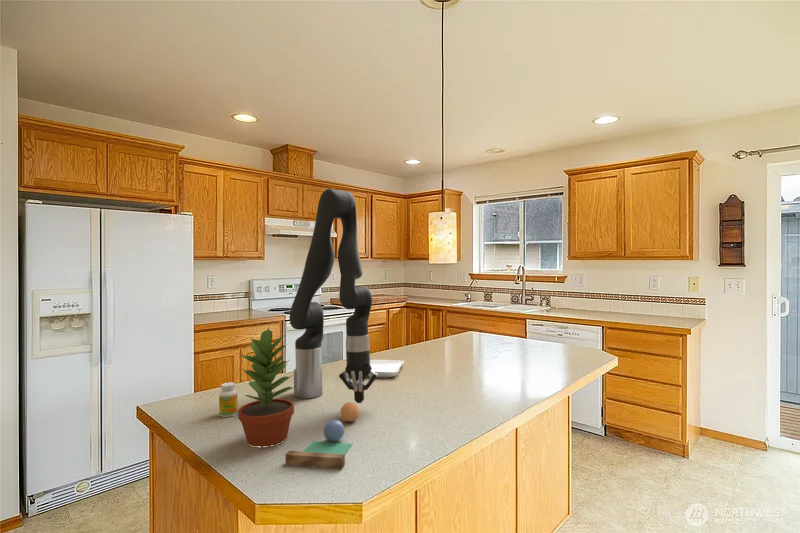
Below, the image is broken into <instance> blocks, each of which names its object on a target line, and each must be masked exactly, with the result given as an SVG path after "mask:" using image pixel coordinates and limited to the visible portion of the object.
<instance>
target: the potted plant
mask: <svg viewBox="0 0 800 533" xmlns="http://www.w3.org/2000/svg"><path fill="white" fill-rule="evenodd" d="M284 337H285V335H284V336H280V337H279V338H277V339H276V340H275V341H274V342H273V331H272V330H271V329H270V328H269V326H268V328H267V330H264V331H262V333H261V334H260V339H255V338H253V337H250V339H251V343H249V344H250V347H251V349H252V351H253V353H254V354H253V355H246V354H245V355H242V354H239V356H240V357H242V358H244V359H245V360H246V361H247V360H248V361H249V362H251V363H252V364H251V367H252V370H251V369H246V370H245V369H243V368H242V369H241V370H242V371H243V372H244V373H245V374H246V375H247V376H249V377H250V378H251V379H252V380H250V379H249V380H248V381H249V382H248V385H249V386H250V387H251V388H252V389H253V390H254V391H255V393H257V396H258V397H257V396H254V395H249V394H245V395H244V394H243V396H245V397H248V398H251V399H254V401H251V402H247V403H245V404H244V405H242V406H240V407H238V413H237V414H238V415H237V416H238V420H239V422H240V423H241V425H242V430H243V433H244V435H245V436H244V437H245V438H246V442H247V445H249V444H250V445H252V446H261V447H263V446H271V445H276V444H278V443H281V442H282V441H284V440H285V439H286V440H287V437H288V435H289V434H288V433H289V429H290V425H291V420H292V415H294V414H295V406H294V405H295V403H294V402H293V401H292V400H290V399H285V398H275V397H277V396H279V395H282V394H283V393H284V394H285V393H287V392H288V391H290V390H292V389H294V386H287V387H283V388H281V389H279V390H277V391H276V390H275V389H276V388H278V387H279V386H280V385H282V384H284V383H285V382H286V381H288V380H289V379H290V378H291V377H292V375H290V376H283V377H280V378H278V379H277V380H276V381H274V380H275V378H276V376H277V375H278V374H280V373H281V372H282V371H283V370H284V369H285V368H286V367H287V365H288V362H289V361H290V359H288V360H283V358H284V355H283V354H281V355H279V356H278V357H276V358H275V359H274V360H273V358H274V357H275V356H277V355H278V354H279V353H280V352H281V351H282V350H283V349H285V348H286V346H287V345H289V343H287V344H284V345H281V346H279V347H277V346H278V345H279V343H280V342H281V341H282V340H283V338H284ZM276 347H277V349H276ZM273 350H274V351H273ZM282 360H283V361H282ZM253 380H254V381H253ZM295 387H296V386H295ZM274 390H275V391H274ZM286 440H285V441H286ZM285 441H284V442H285ZM282 443H283V442H282ZM282 443H281V444H282ZM250 445H249V446H250ZM278 445H279V444H278ZM252 446H251V447H252ZM276 446H277V445H276Z"/></svg>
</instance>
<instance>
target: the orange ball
mask: <svg viewBox="0 0 800 533" xmlns="http://www.w3.org/2000/svg"><path fill="white" fill-rule="evenodd" d="M339 413H340V417H341V419H343V420H344V421H345V422H349V423H350V422H354V421H356V419H357V418H358V417H359V415H360V414H359V413H360V410H359V406H358V405H357V403H355V402H351V401H350V402H346V403H344V404H343V405H342V406H341V407H340V412H339Z"/></svg>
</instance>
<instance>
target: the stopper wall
mask: <svg viewBox="0 0 800 533" xmlns="http://www.w3.org/2000/svg"><path fill="white" fill-rule="evenodd" d="M345 456H346V455H344V454H330V453H315V452H303V451H297V450H288V451H287V452H286V453H285V458H284V460H285V465H286V464H289V465H288V466H294V465H299V466H298V467H307V466H315V467H314V468H320V467H325V468H324V469H333V468H339V469H338V470H343V469H344V467H345V466H344V465H346V462H345V460H346V459H345V458H346V457H345ZM342 468H343V469H342Z"/></svg>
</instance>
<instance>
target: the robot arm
mask: <svg viewBox="0 0 800 533" xmlns="http://www.w3.org/2000/svg"><path fill="white" fill-rule="evenodd" d="M319 197H320V198H319V200H318V205H317V211H316V216H315V222H314V228H313V232H312V238H311V242H310V246H309V249H308V253H307V256H306V260H305V263H304V266H303V267H304V268H303V271H302V276H301V278H300V283H299V285H298V288H297V291H296V294H295V297H294V299H293V302H292V304H291V308H290V310H289V311H290V312H289V324H290V326H291V327H292V328H293V329H294V330H305V331H304V333H303V334H302V335H301V336H300V337H298V338H296V340H295V342H294V344H295V345H294V346H295V348H294V349H295V350H294V351H295V368H294V369H293V387H294V388H293V396H294V397H296V398H300V399H315V398H318V397H320V396H322V395H323V362H322V361H323V358H322V356H323V355H322V351H323V350H322V342H323V339H324V324H325V323H324V321H325V320H324V319H325V318H324V311H323V307H322V305H321V304H320V303H319V302H316V301H312V300H313V298H314V296H315V295H316V293H317V292H318V291H319V290H320V289H321V287H322V286H323V285H324V284H325V283H326V281H327V280H328V278H329V277H330V275H331V274H332V271H333V267H334V263H335V258H336V253H335V252H336V251H335V248H334V243H333V241H332V235H331V234H332V233H331V232H332V228H333V224H334V220H335V219H340V222H341V226H342V235H341V239H340V242H339V246H338V249H337V261H338V268H339V272H340V283H339V284H340V285H339V296H338V297H339V302H340V303H341V305H342V307H343V308H344V309H346V310H354V313H353V314H352V315H349V316H348V317H347V318H346V321H345V331H346V332H345V333H346V334H345V335H346V336H345V338H346V339H345V355H346V357H345V358H346V361H345V362H346V365H345V368H344V371H342V372H341V373H340V374H339V375H338V377H339V378H340V380H341V381H342V382H343V383H344V385H345V386H346V388H347V389H348V390H351V391H353V392H354V394H353V395H354V396H353V397H354V398H353V399H354V402H356V403H355V404H362V403H363V402H364V400H365V391H367V390H368V389H369V388H370V387H371V385H372V384H373V383H374V382H375V380H376V379H377V378H378V377H377V376H378V373H375V372H373V371H372V368H371V366H370V360H371V354H370V352H371V351H370V347H371V345H370V339H369V338H370V337H369V318H370V314H371V313H370V312H371V309H372V304H373V296H372V295H373V294H372V292H371V289H370V288H369V287H367V286H366V285H365V286H364V285H358V286H356V280H358V279H360V278H361V277H362V276H363V268H362V262H361V258H360V252H359V245H358V220H357V219H358V217H357V216H358V215H357V202H356V199H355V197H354V195H353V193H351V192H350V191H347V190H341V189H333V188H327V189H325V190H323V192H322V193H321V195H320V196H319ZM369 373H370V377H369V378H370V379H369V380H368V381H367V383H366V379H367V378H368V377H367V376H368V375H369ZM348 376H349V377H348ZM295 386H296V387H295Z"/></svg>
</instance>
